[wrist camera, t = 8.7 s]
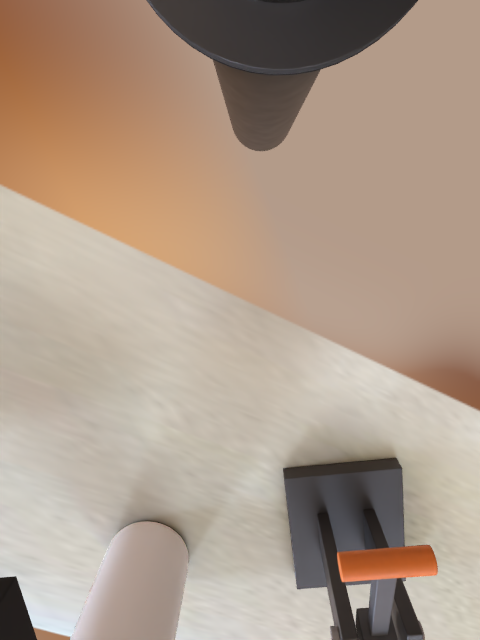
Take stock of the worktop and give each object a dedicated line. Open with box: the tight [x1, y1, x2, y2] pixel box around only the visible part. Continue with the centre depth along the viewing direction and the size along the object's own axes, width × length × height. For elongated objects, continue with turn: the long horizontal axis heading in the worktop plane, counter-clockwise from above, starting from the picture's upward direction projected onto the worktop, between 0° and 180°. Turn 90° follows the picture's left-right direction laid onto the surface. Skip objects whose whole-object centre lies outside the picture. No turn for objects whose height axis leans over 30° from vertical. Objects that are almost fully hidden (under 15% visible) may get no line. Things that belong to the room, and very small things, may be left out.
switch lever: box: [337, 545, 438, 640], centre depth 26 cm, size 12×5×2 cm, turn 7°
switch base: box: [283, 458, 425, 640], centre depth 33 cm, size 12×10×13 cm
